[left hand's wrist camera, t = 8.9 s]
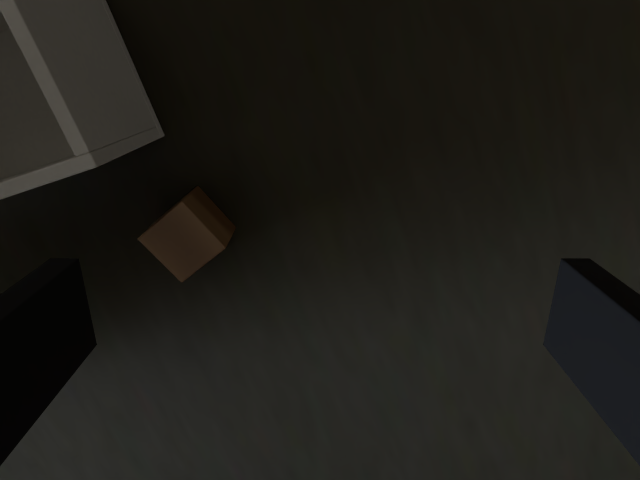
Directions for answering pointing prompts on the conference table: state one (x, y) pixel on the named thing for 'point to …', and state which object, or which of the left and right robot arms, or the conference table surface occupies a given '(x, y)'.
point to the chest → (66, 93)
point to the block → (188, 234)
